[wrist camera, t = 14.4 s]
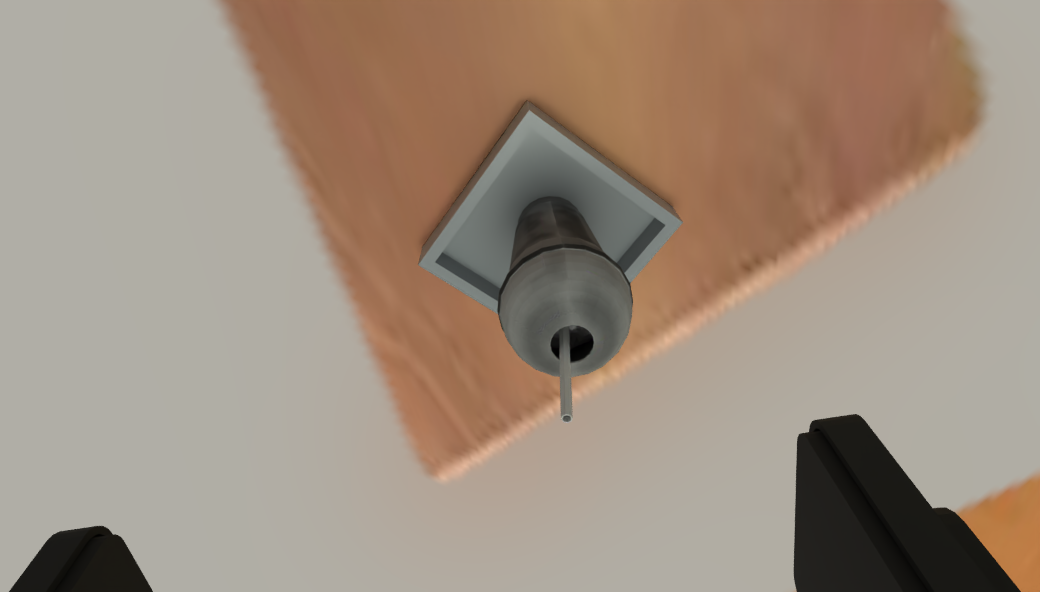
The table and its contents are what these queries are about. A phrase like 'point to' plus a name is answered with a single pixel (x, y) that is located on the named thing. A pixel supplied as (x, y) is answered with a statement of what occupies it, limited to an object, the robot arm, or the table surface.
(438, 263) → the tray
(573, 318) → the beverage cup
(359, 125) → the table surface
